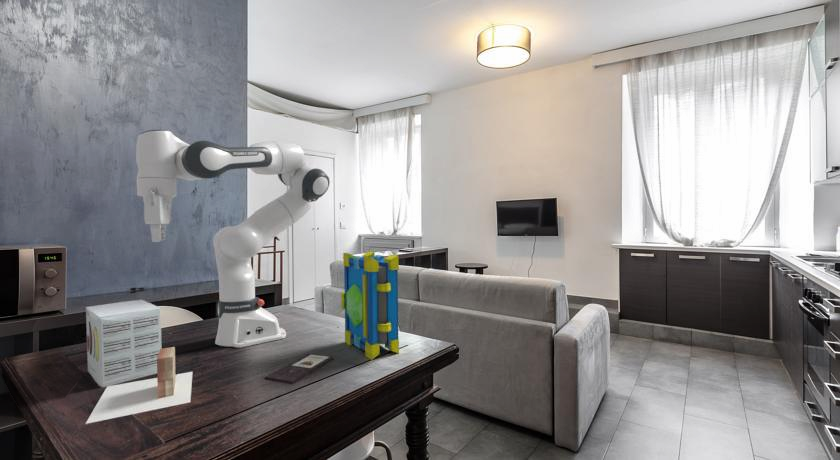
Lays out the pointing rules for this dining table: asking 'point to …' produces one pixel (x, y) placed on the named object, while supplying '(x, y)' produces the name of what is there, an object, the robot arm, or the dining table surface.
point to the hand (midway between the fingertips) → (158, 241)
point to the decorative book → (371, 302)
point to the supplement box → (123, 341)
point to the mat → (139, 398)
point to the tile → (166, 372)
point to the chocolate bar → (299, 369)
